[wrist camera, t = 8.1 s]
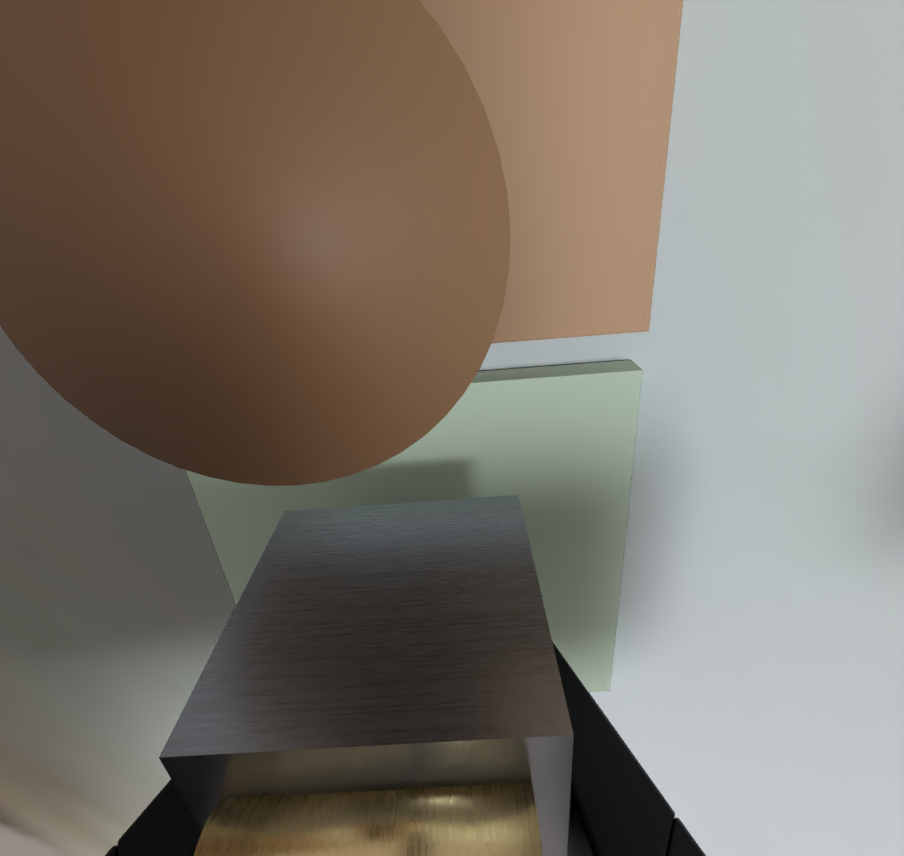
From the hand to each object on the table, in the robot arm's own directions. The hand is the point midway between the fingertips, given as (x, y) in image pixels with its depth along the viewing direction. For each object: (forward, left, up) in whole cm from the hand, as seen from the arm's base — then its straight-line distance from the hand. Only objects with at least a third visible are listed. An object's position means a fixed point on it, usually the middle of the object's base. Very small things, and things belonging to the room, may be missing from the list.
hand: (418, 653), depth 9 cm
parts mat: (0, 0, -3) cm, 3 cm away
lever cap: (0, 0, -1) cm, 1 cm away
